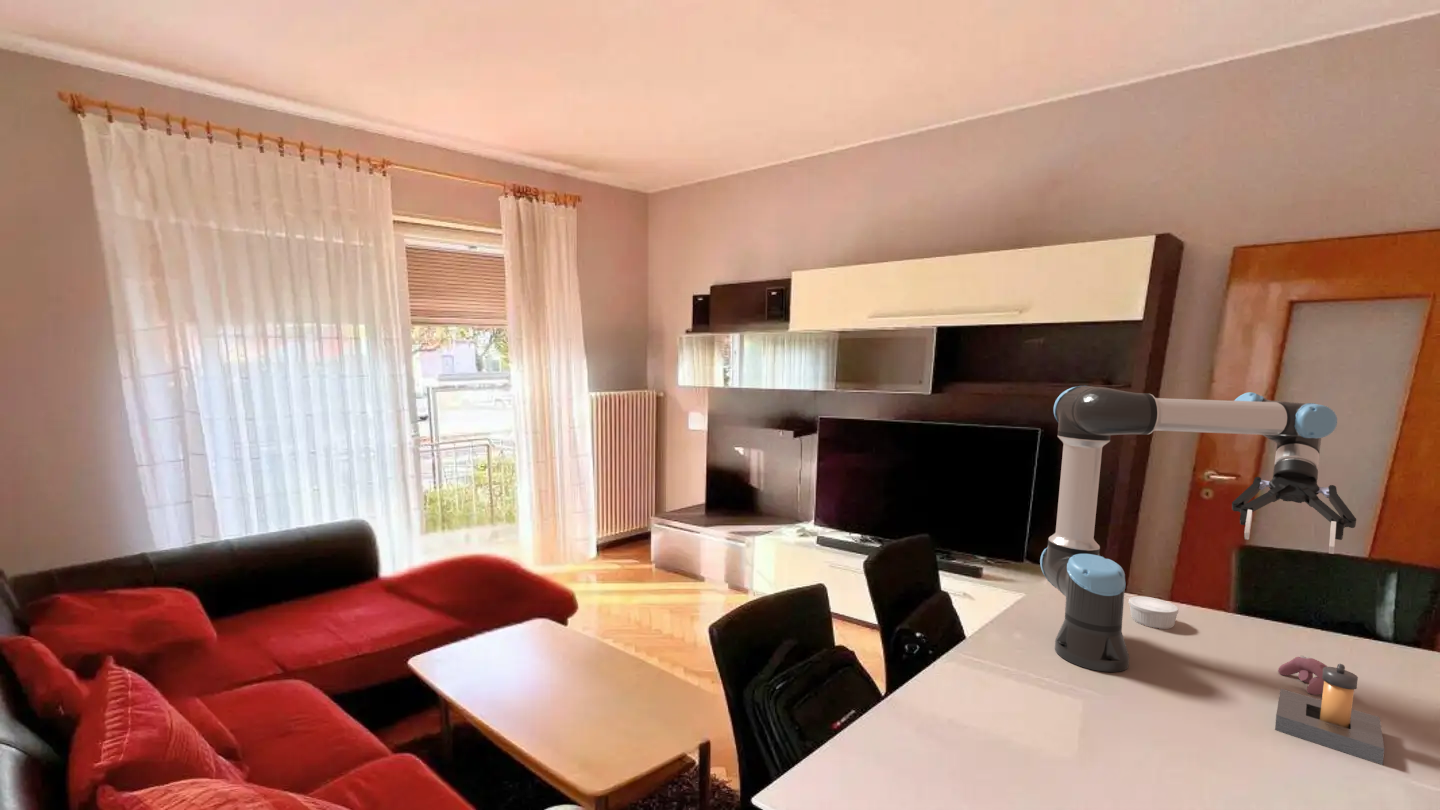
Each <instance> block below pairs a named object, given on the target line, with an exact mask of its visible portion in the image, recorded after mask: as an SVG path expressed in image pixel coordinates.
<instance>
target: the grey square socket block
mask: <svg viewBox="0 0 1440 810" xmlns="http://www.w3.org/2000/svg"><path fill="white" fill-rule="evenodd" d="M1321 704H1322V699H1319V698H1314V697H1311V696H1308V695H1305V694H1300V693H1297V692H1295V691H1291V690H1287V689H1284V688H1280V689H1279V695H1278V701H1277V707H1276V708H1277V709H1276V714H1275V727H1274V730H1275V731H1276V732H1277V731H1278V732H1281V733H1284V734H1287V735H1290V736H1293V737H1296V738H1300V739H1302V740H1305V741H1308V742H1311V743H1314V744H1318V745H1321V746H1324V747H1327V748H1329V749H1333V750H1336V751H1339V752H1341V753H1345V754H1347V755H1351V756H1354V757H1357V758H1361V759H1363V760H1367V761H1368V762H1369V761H1370V762H1372V763H1375V762H1376V764H1379V765H1382V766H1383V764H1384V757H1385V756H1384V754H1385V745H1384V744H1385V743H1384V738H1383V732H1382V731H1383V729H1382V724H1381V717H1380V716H1376V715H1374V714H1370V713H1366V712H1363V711H1360V710H1357V709H1353V708H1352V711H1351V720H1350V728H1349V729H1348V728H1345V727H1342V726H1338V725H1335V724H1332V723H1329V722H1325V721H1322V720H1320V712H1321Z"/></svg>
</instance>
